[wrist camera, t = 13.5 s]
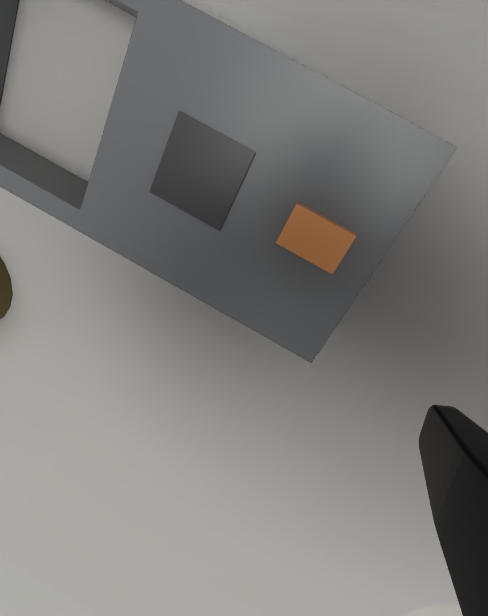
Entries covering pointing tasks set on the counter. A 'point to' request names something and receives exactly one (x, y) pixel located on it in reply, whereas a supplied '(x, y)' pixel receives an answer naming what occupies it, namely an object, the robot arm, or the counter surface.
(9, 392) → the counter surface
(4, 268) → the cork
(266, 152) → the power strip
